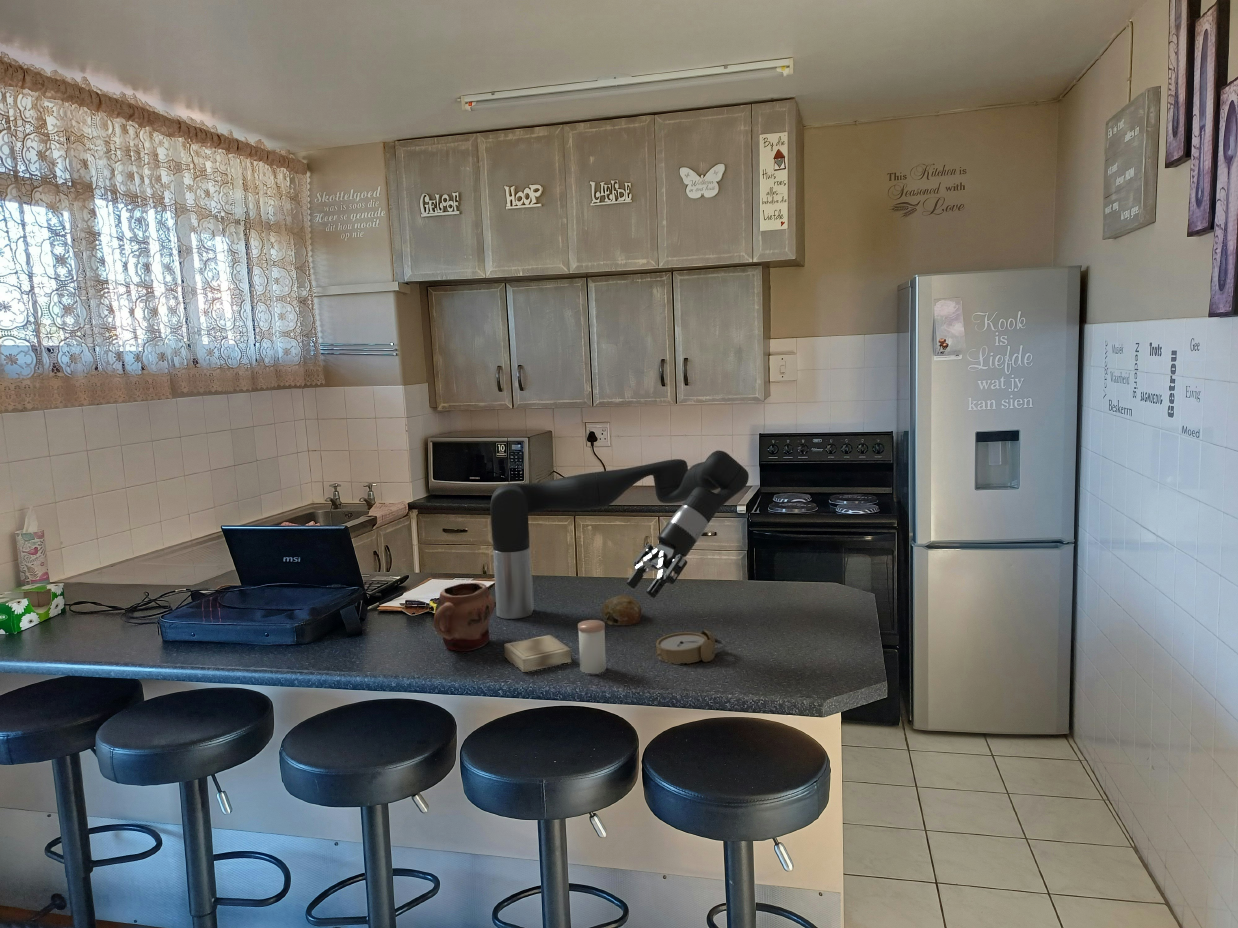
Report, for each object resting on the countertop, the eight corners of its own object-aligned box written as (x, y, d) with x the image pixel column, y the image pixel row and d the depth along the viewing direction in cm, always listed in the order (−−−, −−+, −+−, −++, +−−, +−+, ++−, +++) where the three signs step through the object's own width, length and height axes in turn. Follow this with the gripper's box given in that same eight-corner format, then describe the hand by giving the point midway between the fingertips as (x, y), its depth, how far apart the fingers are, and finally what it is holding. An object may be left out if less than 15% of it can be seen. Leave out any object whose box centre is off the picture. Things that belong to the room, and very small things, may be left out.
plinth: (550, 647, 190) (550, 634, 190) (571, 662, 180) (570, 648, 180) (505, 657, 185) (504, 643, 184) (523, 673, 175) (522, 658, 175)
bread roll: (599, 635, 208) (592, 611, 204) (612, 607, 216) (606, 583, 211) (636, 639, 204) (630, 615, 200) (649, 610, 212) (643, 586, 208)
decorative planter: (466, 665, 181) (462, 603, 179) (417, 660, 185) (412, 599, 183) (508, 635, 199) (505, 578, 197) (462, 630, 203) (459, 575, 201)
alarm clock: (656, 634, 188) (722, 623, 187) (660, 654, 189) (726, 643, 187) (652, 652, 177) (722, 640, 175) (657, 674, 178) (727, 662, 176)
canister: (587, 663, 180) (585, 618, 178) (610, 667, 177) (609, 621, 176) (575, 673, 175) (573, 626, 173) (599, 676, 172) (597, 629, 171)
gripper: (712, 547, 178) (668, 608, 175) (676, 535, 191) (634, 592, 187) (690, 526, 175) (645, 588, 171) (655, 515, 188) (612, 573, 184)
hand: (639, 590), depth 179 cm, fingers open, 8 cm apart
